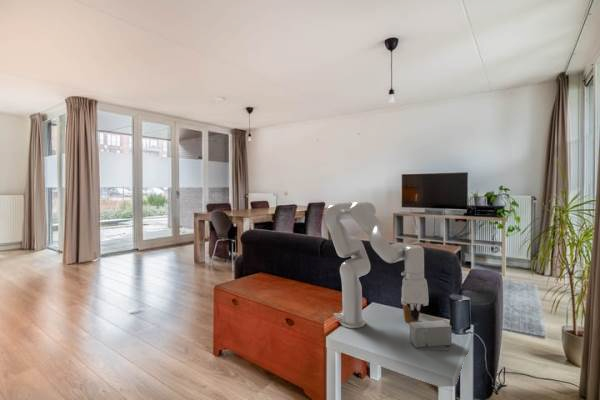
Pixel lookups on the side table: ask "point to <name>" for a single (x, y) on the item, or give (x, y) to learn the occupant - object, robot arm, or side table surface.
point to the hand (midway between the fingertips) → (414, 318)
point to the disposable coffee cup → (408, 314)
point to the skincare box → (430, 333)
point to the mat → (434, 348)
